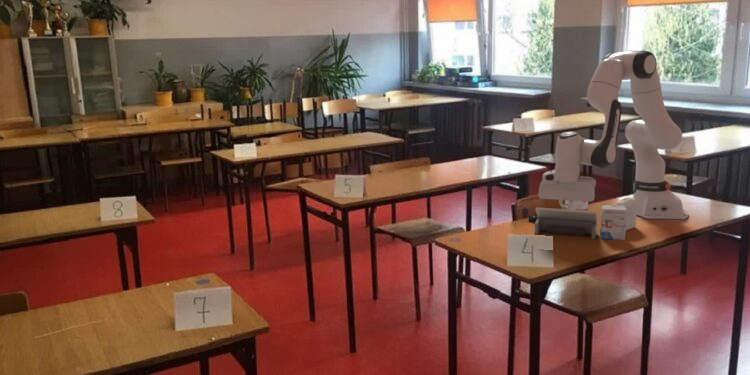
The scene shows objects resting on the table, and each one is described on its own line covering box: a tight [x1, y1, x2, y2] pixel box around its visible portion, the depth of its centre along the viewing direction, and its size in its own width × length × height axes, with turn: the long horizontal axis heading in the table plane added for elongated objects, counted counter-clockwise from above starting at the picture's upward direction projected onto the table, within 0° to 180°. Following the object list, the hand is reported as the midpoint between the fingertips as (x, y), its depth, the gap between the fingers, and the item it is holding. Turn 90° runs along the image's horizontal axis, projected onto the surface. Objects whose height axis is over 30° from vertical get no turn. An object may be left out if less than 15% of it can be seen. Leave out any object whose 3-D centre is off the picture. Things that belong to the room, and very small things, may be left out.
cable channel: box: [534, 218, 598, 240], centre depth 244 cm, size 22×8×4 cm, turn 67°
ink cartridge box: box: [564, 200, 589, 211], centre depth 269 cm, size 9×5×15 cm, turn 42°
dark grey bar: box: [545, 226, 587, 237], centre depth 244 cm, size 15×3×3 cm, turn 67°
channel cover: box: [534, 206, 598, 223], centre depth 243 cm, size 22×10×1 cm
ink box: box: [599, 204, 627, 241], centre depth 237 cm, size 9×5×12 cm, turn 75°
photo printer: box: [615, 197, 637, 232], centre depth 246 cm, size 10×4×12 cm, turn 129°
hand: (565, 210), depth 241 cm, fingers closed, pressing on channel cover
